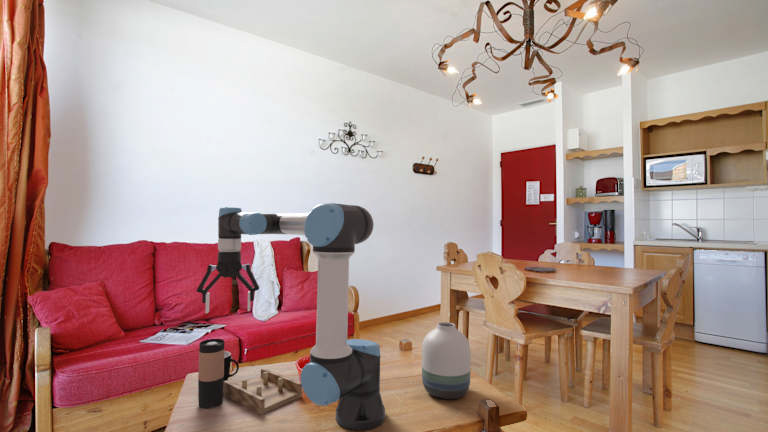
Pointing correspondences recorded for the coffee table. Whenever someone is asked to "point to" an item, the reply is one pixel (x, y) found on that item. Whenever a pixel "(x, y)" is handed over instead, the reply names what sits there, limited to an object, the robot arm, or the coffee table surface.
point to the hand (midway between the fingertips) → (228, 311)
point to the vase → (446, 362)
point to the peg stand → (264, 391)
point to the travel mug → (211, 373)
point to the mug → (228, 365)
